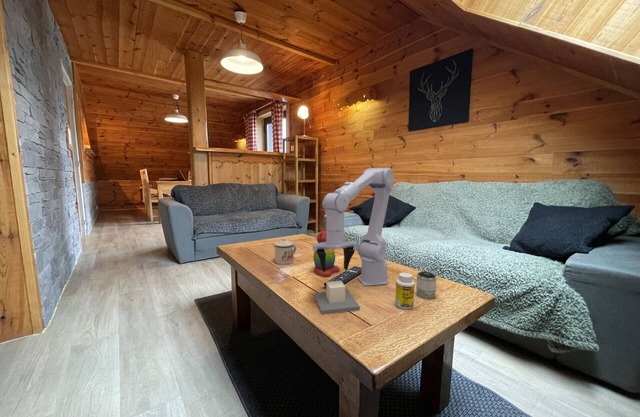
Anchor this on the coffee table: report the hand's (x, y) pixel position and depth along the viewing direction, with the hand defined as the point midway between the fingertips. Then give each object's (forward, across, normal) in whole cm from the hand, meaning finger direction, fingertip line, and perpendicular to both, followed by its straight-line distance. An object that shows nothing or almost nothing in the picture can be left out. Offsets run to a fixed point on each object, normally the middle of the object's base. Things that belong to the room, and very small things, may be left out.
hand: (334, 269), depth 87 cm
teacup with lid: (+10, -12, +42) cm, 44 cm away
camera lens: (+10, +31, -5) cm, 33 cm away
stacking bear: (+10, +3, +24) cm, 27 cm away
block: (+9, -1, -3) cm, 9 cm away
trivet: (+10, -1, -4) cm, 10 cm away
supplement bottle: (+10, +20, -10) cm, 25 cm away
